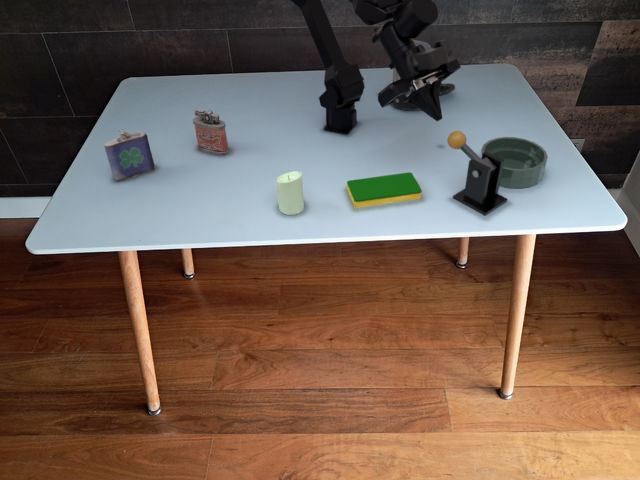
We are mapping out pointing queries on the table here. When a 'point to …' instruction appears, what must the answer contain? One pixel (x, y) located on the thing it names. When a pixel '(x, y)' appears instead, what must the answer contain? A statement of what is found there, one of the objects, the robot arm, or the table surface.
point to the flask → (129, 155)
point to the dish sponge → (383, 189)
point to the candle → (290, 193)
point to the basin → (518, 161)
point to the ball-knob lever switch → (482, 186)
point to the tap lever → (467, 148)
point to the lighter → (210, 133)
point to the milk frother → (399, 99)
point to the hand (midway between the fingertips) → (439, 119)
